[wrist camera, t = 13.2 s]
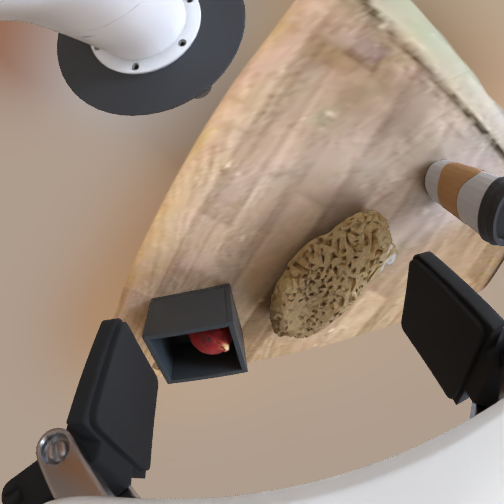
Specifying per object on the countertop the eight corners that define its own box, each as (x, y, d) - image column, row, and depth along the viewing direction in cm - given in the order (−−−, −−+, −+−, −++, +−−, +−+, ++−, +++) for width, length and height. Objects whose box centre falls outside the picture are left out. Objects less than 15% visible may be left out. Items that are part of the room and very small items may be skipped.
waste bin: (172, 345, 46) (168, 384, 39) (151, 298, 42) (141, 336, 34) (242, 332, 46) (247, 372, 39) (229, 283, 42) (233, 321, 35)
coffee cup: (425, 215, 40) (491, 262, 27) (411, 166, 37) (487, 202, 24) (461, 191, 39) (528, 229, 26) (450, 144, 36) (526, 171, 22)
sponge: (355, 190, 39) (233, 281, 38) (396, 213, 33) (258, 321, 32) (374, 254, 47) (276, 331, 46) (407, 280, 41) (300, 367, 40)
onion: (173, 331, 41) (196, 361, 34) (192, 296, 41) (219, 321, 35) (205, 342, 44) (232, 371, 38) (223, 310, 45) (253, 334, 38)
